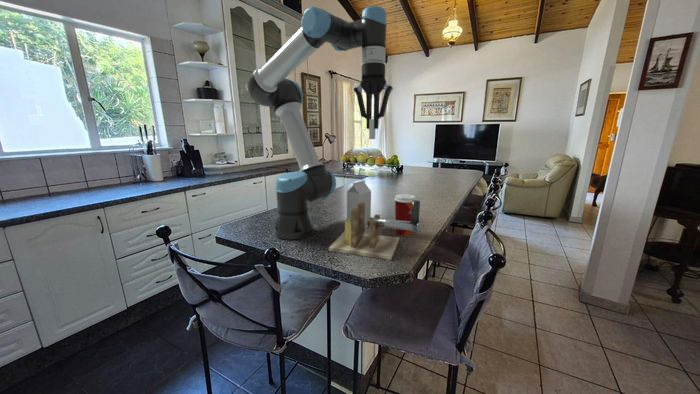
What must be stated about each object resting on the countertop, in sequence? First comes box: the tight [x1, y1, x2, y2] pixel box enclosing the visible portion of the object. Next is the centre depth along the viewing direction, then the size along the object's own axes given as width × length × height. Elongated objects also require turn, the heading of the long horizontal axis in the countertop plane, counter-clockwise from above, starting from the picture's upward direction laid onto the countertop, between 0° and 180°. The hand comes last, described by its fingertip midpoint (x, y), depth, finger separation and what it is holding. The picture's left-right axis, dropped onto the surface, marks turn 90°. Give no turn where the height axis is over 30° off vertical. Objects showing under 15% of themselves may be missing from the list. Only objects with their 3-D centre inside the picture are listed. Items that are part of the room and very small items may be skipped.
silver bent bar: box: [367, 199, 422, 235], centre depth 90 cm, size 17×4×11 cm, turn 71°
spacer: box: [344, 217, 351, 245], centre depth 96 cm, size 2×8×8 cm, turn 161°
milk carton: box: [346, 180, 372, 229], centre depth 113 cm, size 7×7×19 cm
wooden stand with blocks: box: [328, 202, 400, 261], centre depth 95 cm, size 21×16×14 cm
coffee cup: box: [393, 193, 417, 237], centre depth 106 cm, size 8×8×15 cm
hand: (372, 138), depth 94 cm, fingers closed
